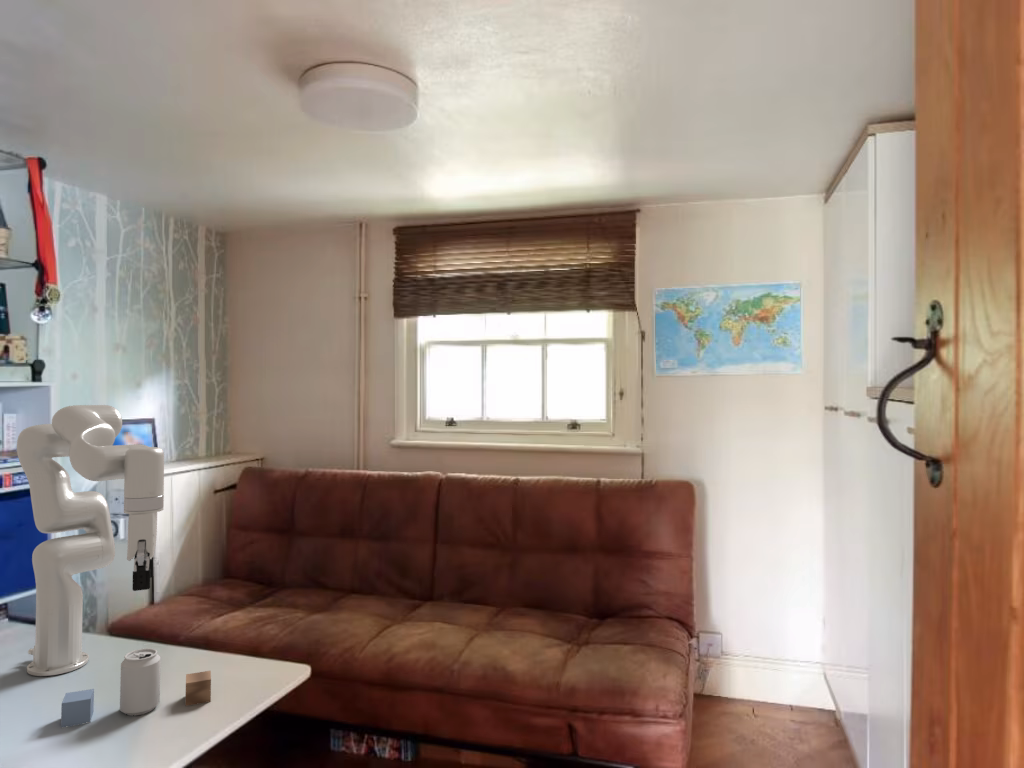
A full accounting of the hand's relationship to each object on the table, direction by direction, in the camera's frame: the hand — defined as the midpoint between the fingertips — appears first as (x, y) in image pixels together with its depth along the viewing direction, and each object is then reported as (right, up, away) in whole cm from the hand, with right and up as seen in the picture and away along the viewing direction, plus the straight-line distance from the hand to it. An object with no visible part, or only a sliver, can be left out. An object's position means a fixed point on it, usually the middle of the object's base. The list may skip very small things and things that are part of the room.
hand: (142, 583), depth 142 cm
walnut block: (+10, -27, +4) cm, 29 cm away
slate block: (-11, -27, -5) cm, 29 cm away
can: (0, -27, 0) cm, 27 cm away
